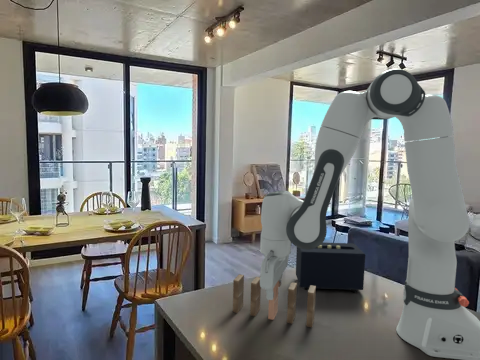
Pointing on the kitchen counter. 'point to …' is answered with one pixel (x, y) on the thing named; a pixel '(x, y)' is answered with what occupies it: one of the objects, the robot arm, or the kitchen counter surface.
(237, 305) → the domino
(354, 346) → the kitchen counter surface
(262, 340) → the kitchen counter surface
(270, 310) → the domino
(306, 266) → the speaker
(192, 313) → the kitchen counter surface
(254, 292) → the domino
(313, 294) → the domino
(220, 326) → the kitchen counter surface
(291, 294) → the domino
